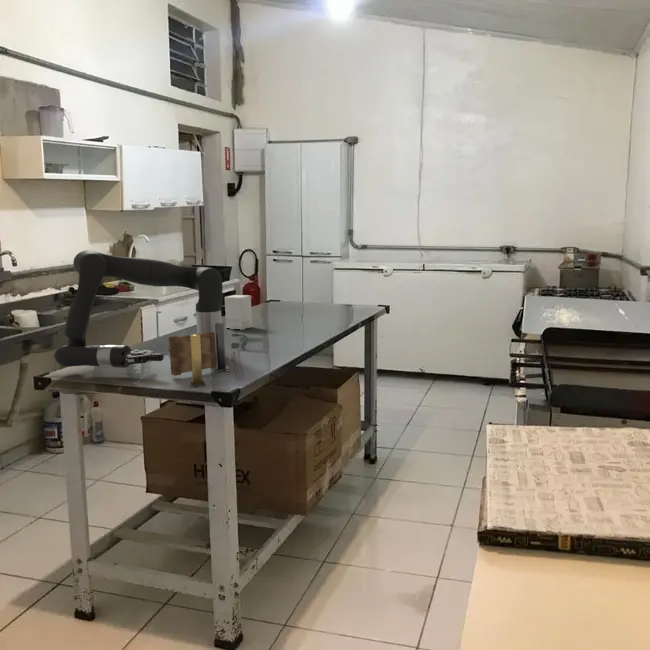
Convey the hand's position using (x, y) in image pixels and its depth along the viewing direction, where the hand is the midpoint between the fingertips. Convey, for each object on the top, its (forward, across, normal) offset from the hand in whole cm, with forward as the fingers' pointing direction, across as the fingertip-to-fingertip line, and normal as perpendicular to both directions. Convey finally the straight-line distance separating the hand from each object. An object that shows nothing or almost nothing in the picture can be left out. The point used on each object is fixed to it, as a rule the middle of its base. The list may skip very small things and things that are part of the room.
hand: (162, 357), depth 228 cm
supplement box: (-6, +93, +7) cm, 94 cm away
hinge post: (+16, +12, +6) cm, 21 cm away
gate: (+9, +3, +5) cm, 11 cm away
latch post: (+16, -9, +6) cm, 19 cm away
